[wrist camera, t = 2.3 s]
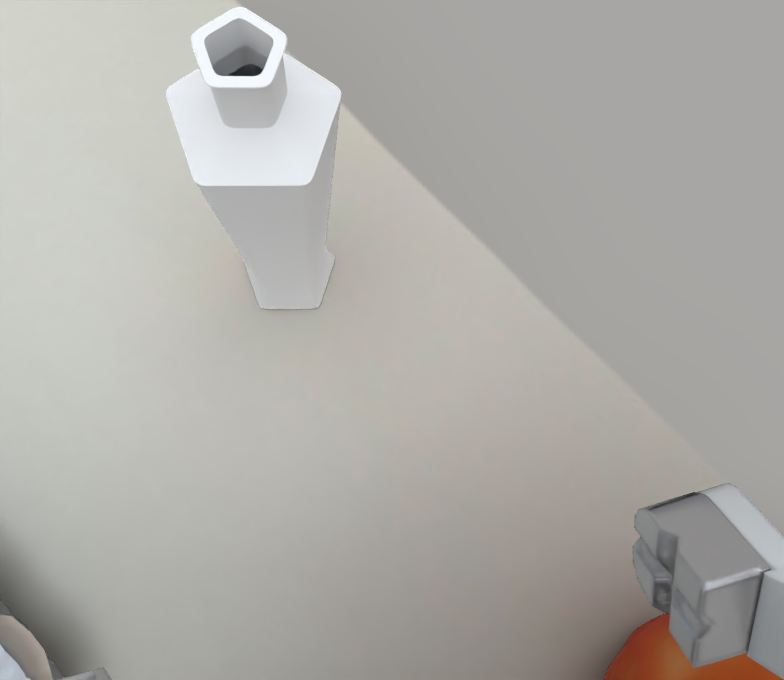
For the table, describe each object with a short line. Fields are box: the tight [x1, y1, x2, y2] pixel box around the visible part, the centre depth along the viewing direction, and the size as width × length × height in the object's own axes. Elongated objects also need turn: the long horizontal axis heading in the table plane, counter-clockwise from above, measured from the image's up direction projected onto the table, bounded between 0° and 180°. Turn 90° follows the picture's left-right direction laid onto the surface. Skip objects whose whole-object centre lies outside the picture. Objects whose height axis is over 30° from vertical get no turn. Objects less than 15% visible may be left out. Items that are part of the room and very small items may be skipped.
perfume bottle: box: [166, 7, 341, 309], centre depth 23 cm, size 5×4×15 cm
